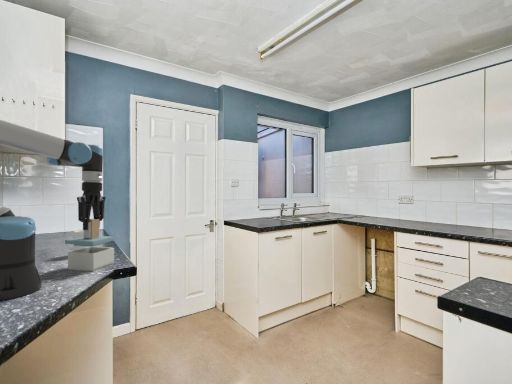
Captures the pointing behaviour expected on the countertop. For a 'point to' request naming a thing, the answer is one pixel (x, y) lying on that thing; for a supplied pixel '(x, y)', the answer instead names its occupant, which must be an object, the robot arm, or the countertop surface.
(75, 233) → the mug
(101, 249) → the tub
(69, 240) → the lid
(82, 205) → the robot arm
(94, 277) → the countertop surface
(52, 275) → the countertop surface
